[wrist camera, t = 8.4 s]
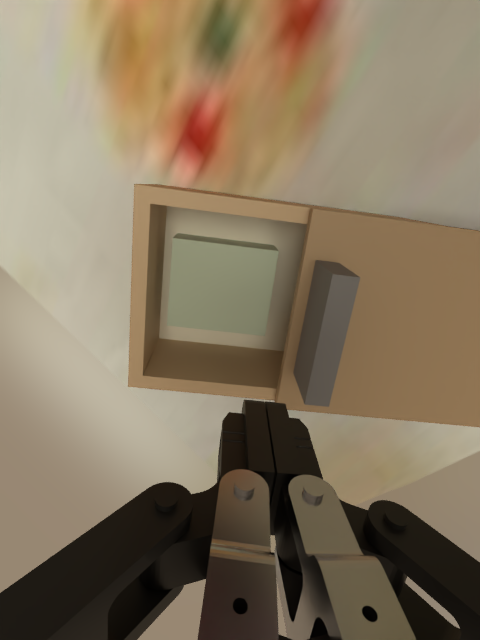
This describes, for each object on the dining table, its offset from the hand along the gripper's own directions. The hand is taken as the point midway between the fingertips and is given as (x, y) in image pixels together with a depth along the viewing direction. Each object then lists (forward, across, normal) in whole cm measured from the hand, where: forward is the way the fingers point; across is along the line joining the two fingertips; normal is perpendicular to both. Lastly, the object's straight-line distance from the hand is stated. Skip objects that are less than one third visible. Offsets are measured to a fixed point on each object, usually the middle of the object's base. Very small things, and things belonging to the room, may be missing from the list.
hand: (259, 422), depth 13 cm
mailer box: (+21, -2, 0) cm, 21 cm away
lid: (+13, -13, 0) cm, 18 cm away
